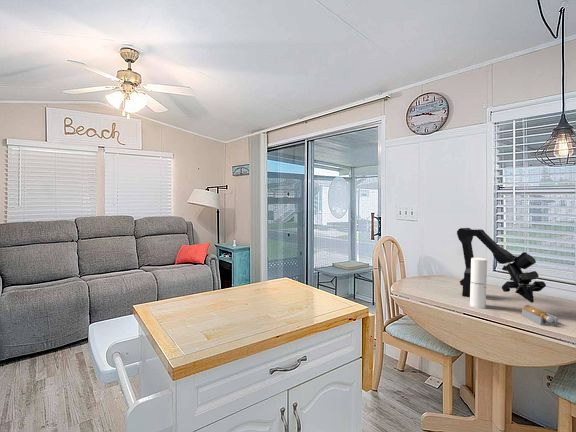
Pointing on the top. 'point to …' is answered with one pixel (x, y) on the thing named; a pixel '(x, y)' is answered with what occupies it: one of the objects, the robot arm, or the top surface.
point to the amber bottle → (538, 313)
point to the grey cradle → (539, 318)
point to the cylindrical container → (478, 282)
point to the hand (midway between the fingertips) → (532, 302)
